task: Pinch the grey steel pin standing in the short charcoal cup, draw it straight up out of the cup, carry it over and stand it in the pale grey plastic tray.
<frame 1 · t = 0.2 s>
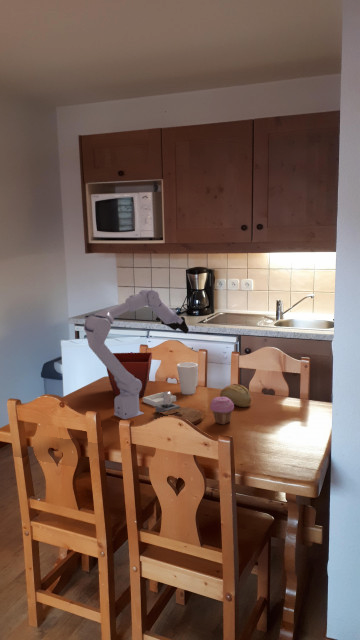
hand: (181, 330, 217), 31 cm above the table, tool tilted 45°, fingers open, 7 cm apart
foam cup: (188, 392, 233), on the table
cupcake: (222, 422, 194), on the table
pin: (167, 411, 206), resting on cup
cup: (167, 412, 206), on the table
tray: (159, 402, 220), on the table
plant pot: (131, 393, 234), on the table
bread roll: (235, 404, 216), on the table
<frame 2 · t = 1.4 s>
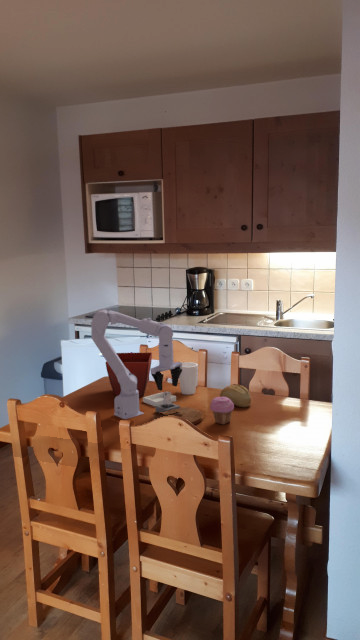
hand: (167, 387, 205), 10 cm above the table, tool pointing down, fingers open, 7 cm apart
nothing on the table moved.
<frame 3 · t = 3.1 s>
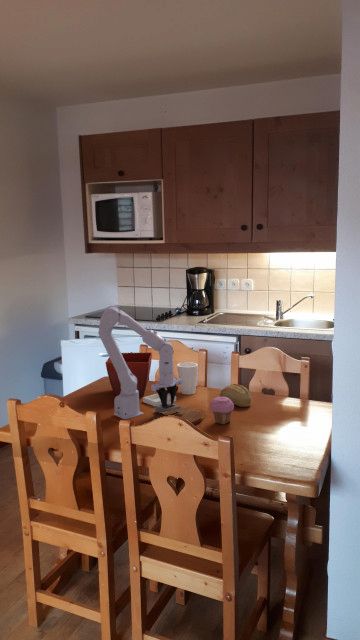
hand: (167, 404, 206), 3 cm above the table, tool pointing down, fingers closed on pin, 3 cm apart
pin: (167, 411, 206), resting on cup, touching gripper
everything else where it was.
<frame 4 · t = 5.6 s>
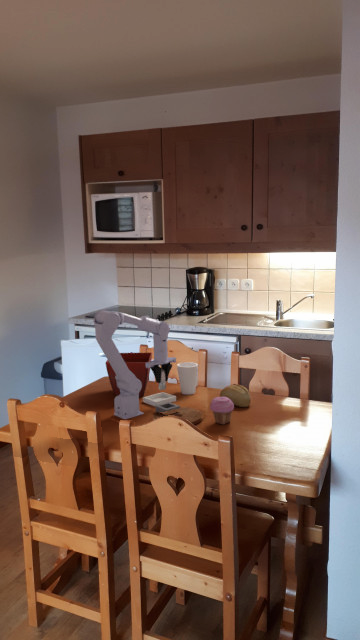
hand: (161, 381, 214), 10 cm above the table, tool pointing down, fingers closed on pin, 3 cm apart
pin: (162, 388, 214), point 7 cm above the table, touching gripper
everything else where it was.
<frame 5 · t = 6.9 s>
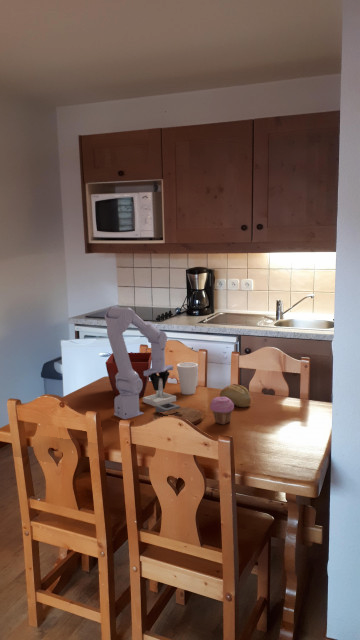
hand: (159, 389, 219), 6 cm above the table, tool pointing down, fingers closed on pin, 3 cm apart
pin: (159, 396, 219), point 3 cm above the table, touching gripper
everything else where it was.
when the fingers open (5 cm above the table, at t = 7.9 s): pin stays where it is, resting on tray.
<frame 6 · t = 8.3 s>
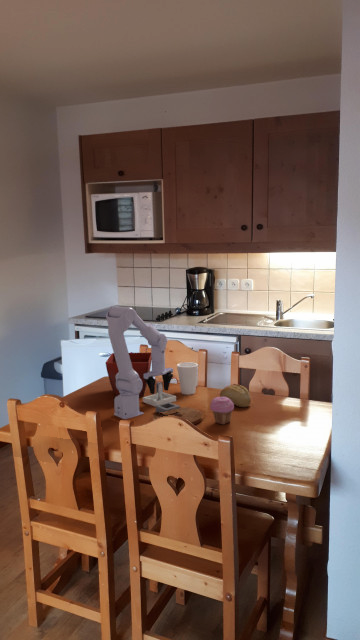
hand: (159, 391, 219), 5 cm above the table, tool pointing down, fingers open, 7 cm apart
pin: (159, 400, 220), point 1 cm above the table, touching tray
everything else where it was.
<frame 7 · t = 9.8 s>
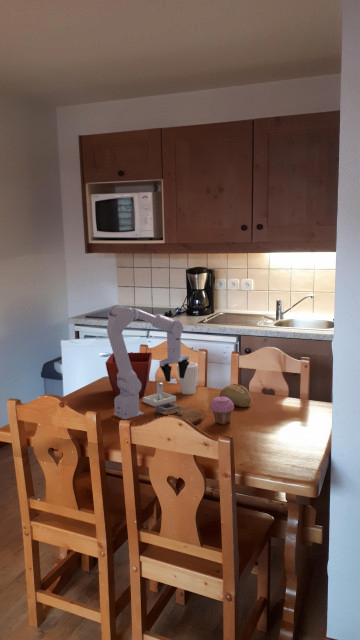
hand: (175, 379, 216), 10 cm above the table, tool pointing down, fingers open, 7 cm apart
nothing on the table moved.
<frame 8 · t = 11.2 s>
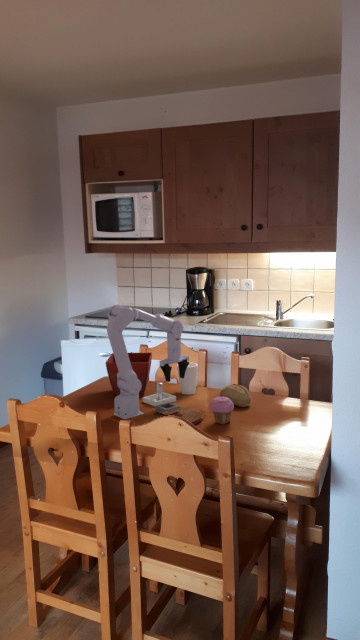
hand: (175, 379, 216), 10 cm above the table, tool pointing down, fingers open, 7 cm apart
nothing on the table moved.
at the end: pin 0.2 cm off-centre on the tray, point 0.6 cm above the tray's base; pin tilted 1°; the gripper is holding nothing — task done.
